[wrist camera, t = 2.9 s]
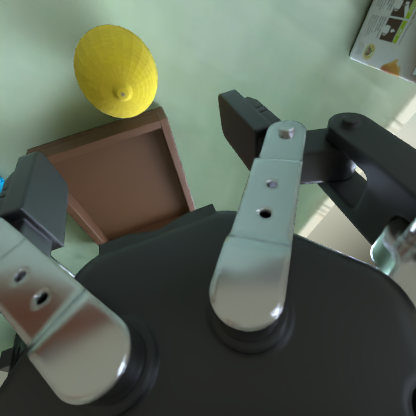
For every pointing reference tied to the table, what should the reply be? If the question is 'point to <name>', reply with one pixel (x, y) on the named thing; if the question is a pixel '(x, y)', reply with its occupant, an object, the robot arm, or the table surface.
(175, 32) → the table surface
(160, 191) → the tray
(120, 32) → the lemon
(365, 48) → the coffee box
